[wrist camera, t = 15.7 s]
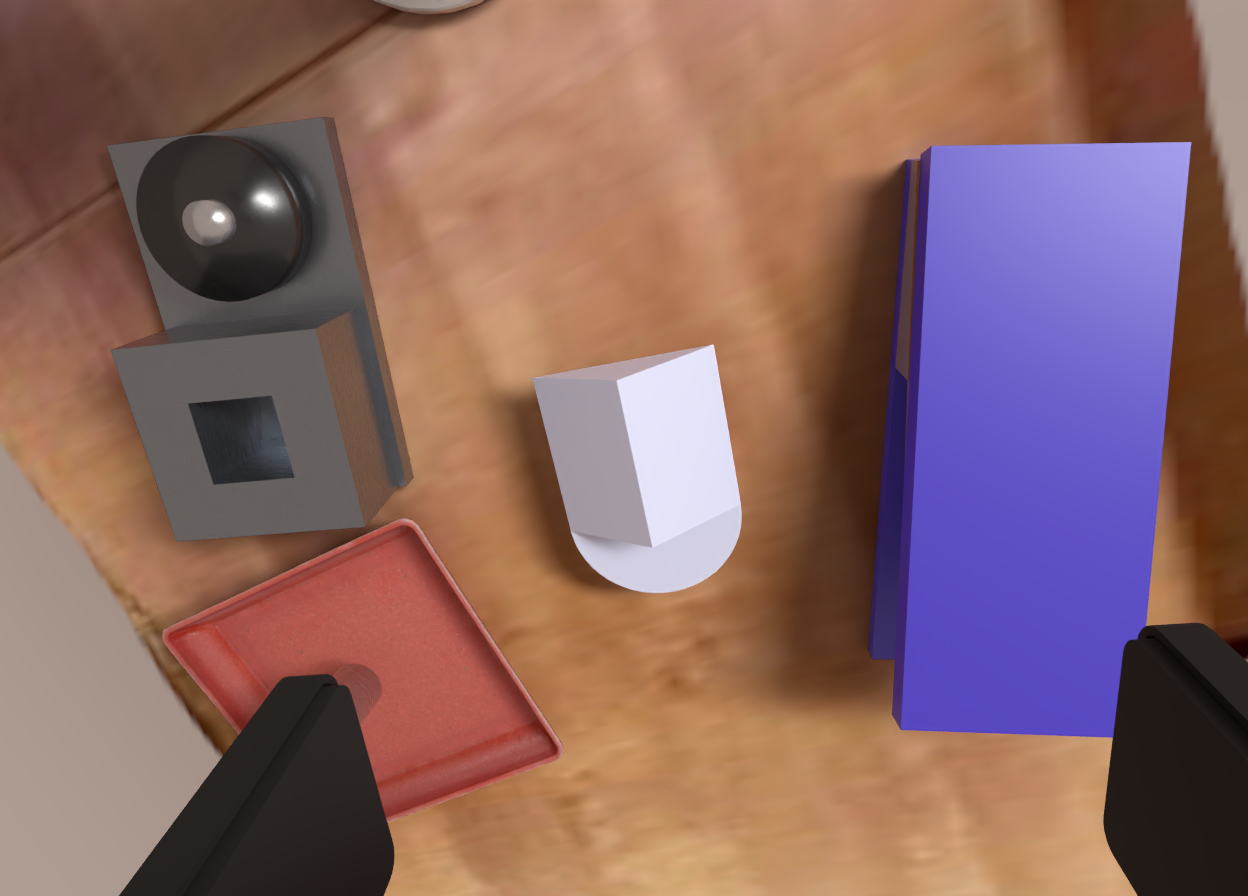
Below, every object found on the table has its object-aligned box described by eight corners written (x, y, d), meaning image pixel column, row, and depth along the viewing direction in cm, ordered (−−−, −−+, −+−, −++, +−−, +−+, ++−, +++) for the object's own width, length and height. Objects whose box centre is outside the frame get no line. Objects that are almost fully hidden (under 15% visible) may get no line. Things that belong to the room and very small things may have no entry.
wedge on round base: (543, 360, 43) (595, 572, 47) (519, 397, 37) (582, 638, 41) (711, 329, 42) (748, 550, 46) (716, 362, 35) (759, 614, 40)
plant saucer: (575, 722, 52) (569, 759, 49) (346, 808, 56) (327, 848, 52) (427, 488, 46) (409, 513, 43) (186, 603, 50) (153, 633, 47)
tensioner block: (122, 145, 40) (29, 145, 34) (333, 118, 39) (273, 113, 33) (230, 492, 47) (167, 542, 41) (413, 477, 46) (374, 526, 40)
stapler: (856, 646, 48) (897, 764, 39) (892, 146, 38) (958, 147, 29) (1055, 647, 47) (1146, 768, 38) (1144, 135, 37) (1295, 133, 28)
